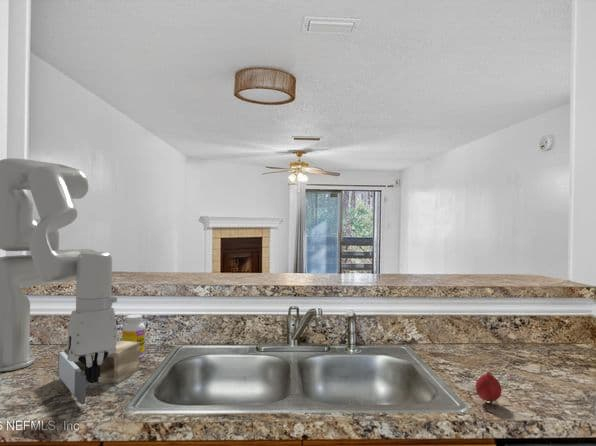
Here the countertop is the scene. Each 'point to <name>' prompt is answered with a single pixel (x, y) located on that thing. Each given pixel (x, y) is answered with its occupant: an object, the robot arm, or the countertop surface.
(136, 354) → the cabinet
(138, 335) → the supplement bottle
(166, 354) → the countertop surface
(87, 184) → the robot arm
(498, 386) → the onion
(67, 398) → the countertop surface
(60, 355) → the door
